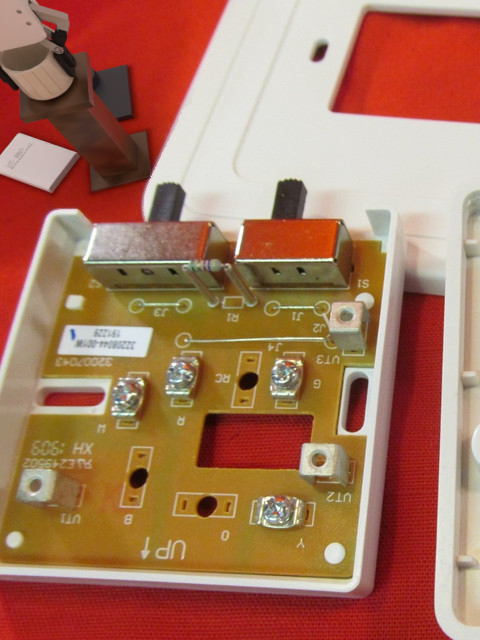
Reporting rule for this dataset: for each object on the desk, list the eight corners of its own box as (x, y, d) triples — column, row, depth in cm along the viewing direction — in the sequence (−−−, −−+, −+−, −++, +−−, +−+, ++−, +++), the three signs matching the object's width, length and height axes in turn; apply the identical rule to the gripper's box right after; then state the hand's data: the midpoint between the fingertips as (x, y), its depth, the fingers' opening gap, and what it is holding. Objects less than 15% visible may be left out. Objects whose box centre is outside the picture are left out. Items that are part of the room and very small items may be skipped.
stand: (94, 194, 115) (19, 118, 98) (91, 148, 118) (18, 67, 101) (153, 179, 115) (89, 100, 98) (148, 134, 119) (85, 51, 102)
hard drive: (54, 195, 115) (-4, 173, 117) (82, 158, 118) (24, 137, 120) (48, 189, 113) (-12, 167, 116) (76, 151, 116) (18, 131, 118)
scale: (73, 135, 119) (62, 123, 117) (70, 81, 124) (59, 68, 121) (135, 119, 120) (126, 107, 117) (130, 66, 125) (121, 53, 122)
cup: (23, 105, 98) (-2, 78, 93) (22, 68, 100) (-2, 40, 96) (74, 93, 98) (52, 66, 94) (72, 56, 101) (50, 28, 96)
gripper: (21, -73, 84) (103, 44, 101) (-123, -42, 83) (-16, 71, 99) (22, -32, 81) (107, 81, 98) (-127, 1, 80) (-16, 110, 97)
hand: (44, 76), depth 99 cm, fingers closed on cup, 7 cm apart
